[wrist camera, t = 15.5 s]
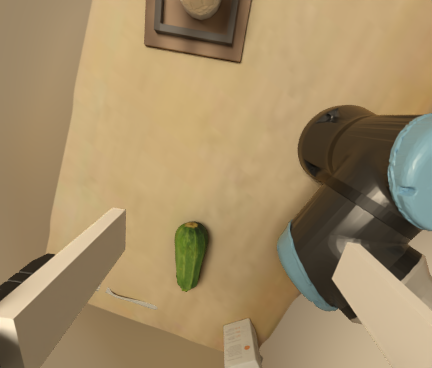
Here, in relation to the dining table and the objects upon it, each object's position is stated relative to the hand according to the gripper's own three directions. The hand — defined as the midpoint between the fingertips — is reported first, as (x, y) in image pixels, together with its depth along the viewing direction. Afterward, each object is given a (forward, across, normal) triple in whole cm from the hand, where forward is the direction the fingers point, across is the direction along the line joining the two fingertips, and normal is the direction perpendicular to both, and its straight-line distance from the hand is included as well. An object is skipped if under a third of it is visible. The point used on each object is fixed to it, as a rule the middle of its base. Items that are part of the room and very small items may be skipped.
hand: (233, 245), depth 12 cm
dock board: (+31, -8, +25) cm, 41 cm away
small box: (+32, +12, -49) cm, 60 cm away
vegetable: (+32, -4, -26) cm, 41 cm away
